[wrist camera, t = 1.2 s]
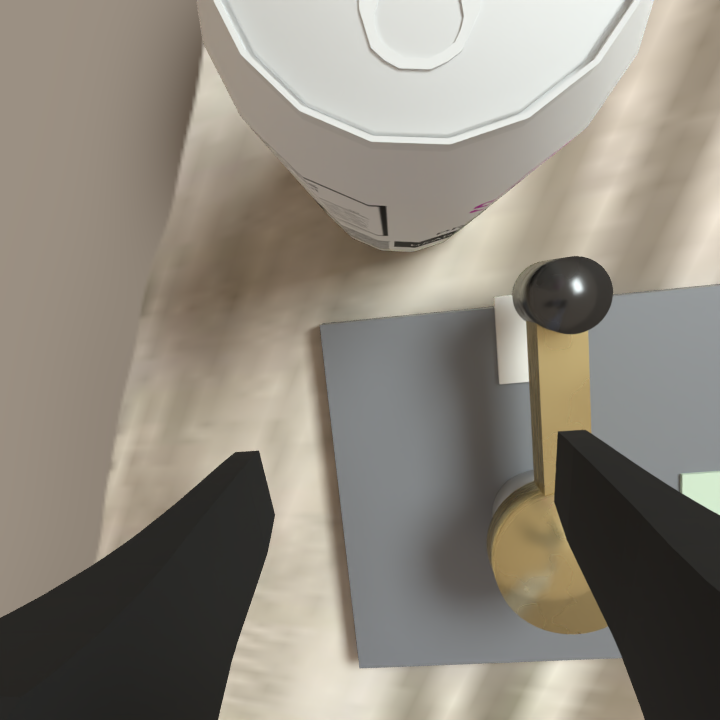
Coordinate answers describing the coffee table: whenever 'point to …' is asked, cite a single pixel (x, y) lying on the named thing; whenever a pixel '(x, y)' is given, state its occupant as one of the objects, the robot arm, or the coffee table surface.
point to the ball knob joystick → (550, 446)
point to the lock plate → (495, 458)
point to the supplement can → (418, 97)
